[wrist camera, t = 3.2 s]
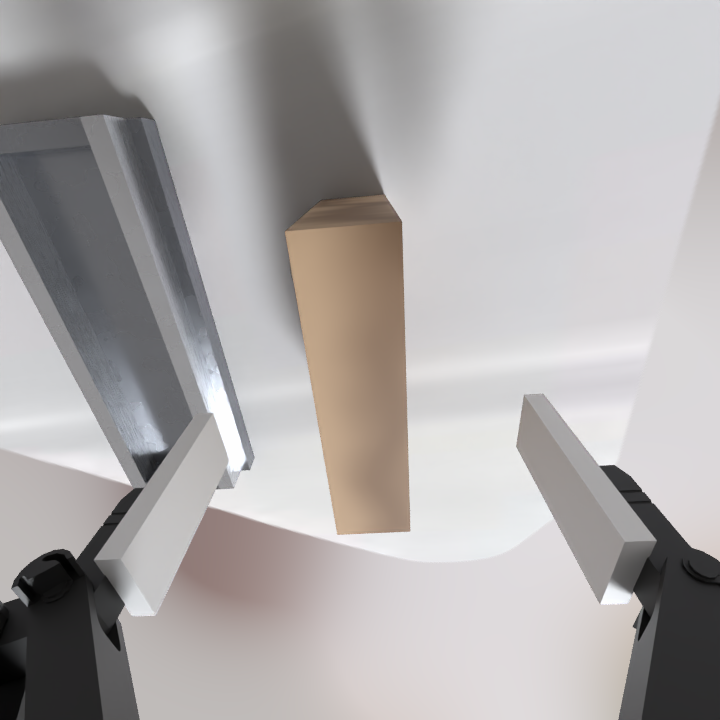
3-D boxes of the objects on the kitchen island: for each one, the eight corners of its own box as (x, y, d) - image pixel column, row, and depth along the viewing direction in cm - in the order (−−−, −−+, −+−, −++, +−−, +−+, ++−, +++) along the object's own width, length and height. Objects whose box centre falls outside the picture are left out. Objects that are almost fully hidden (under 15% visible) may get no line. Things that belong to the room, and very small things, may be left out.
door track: (148, 463, 34) (127, 493, 31) (-10, 137, 21) (-73, 132, 18) (254, 457, 33) (243, 487, 30) (154, 120, 21) (118, 112, 18)
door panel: (334, 407, 31) (319, 535, 20) (305, 201, 23) (256, 233, 12) (394, 403, 30) (410, 531, 20) (384, 194, 23) (402, 221, 12)
